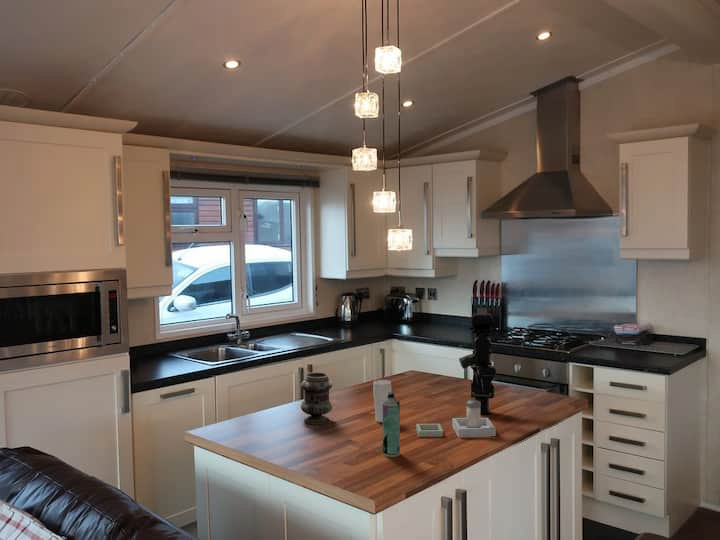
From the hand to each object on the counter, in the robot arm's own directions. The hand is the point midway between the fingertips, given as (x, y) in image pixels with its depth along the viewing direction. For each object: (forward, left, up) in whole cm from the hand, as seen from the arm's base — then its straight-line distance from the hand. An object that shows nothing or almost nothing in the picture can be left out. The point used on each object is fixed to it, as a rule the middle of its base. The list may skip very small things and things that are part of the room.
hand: (482, 389), depth 232 cm
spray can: (+31, -36, -13) cm, 49 cm away
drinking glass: (-5, -37, -13) cm, 40 cm away
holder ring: (+10, -21, -13) cm, 27 cm away
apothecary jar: (-6, -62, -13) cm, 64 cm away
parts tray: (+9, -5, -13) cm, 17 cm away
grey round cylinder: (+9, -5, -12) cm, 16 cm away
